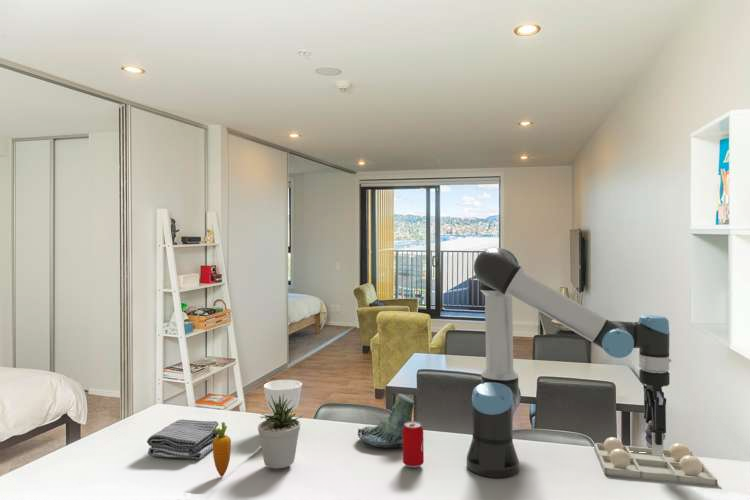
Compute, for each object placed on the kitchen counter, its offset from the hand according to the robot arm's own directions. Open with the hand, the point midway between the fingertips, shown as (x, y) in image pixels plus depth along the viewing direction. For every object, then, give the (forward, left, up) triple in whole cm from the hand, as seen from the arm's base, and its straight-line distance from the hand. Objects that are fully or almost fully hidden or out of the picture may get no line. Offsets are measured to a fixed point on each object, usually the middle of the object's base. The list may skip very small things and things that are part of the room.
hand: (654, 450), depth 141 cm
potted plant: (-107, -21, -7) cm, 109 cm away
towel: (-141, -20, -7) cm, 143 cm away
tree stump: (-82, +6, -9) cm, 83 cm away
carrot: (-119, -34, -7) cm, 124 cm away
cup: (-119, +5, -7) cm, 119 cm away
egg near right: (+9, 0, -6) cm, 11 cm away
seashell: (0, 0, -1) cm, 1 cm away
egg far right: (+9, +9, -6) cm, 14 cm away
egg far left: (-9, +9, -6) cm, 14 cm away
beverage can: (-68, -12, -7) cm, 69 cm away
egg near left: (-9, 0, -6) cm, 11 cm away
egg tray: (0, +5, -6) cm, 8 cm away
